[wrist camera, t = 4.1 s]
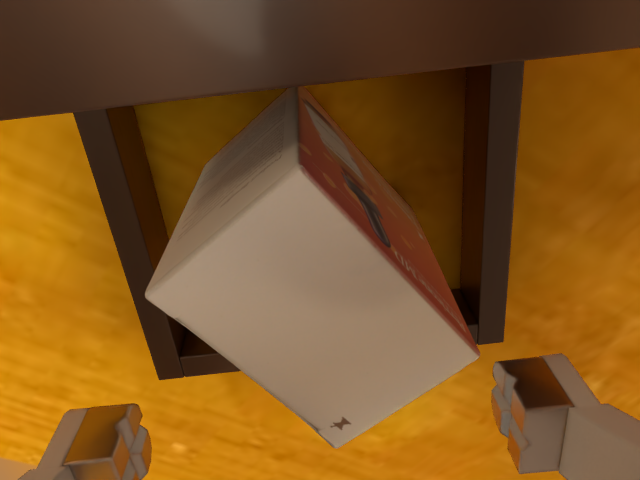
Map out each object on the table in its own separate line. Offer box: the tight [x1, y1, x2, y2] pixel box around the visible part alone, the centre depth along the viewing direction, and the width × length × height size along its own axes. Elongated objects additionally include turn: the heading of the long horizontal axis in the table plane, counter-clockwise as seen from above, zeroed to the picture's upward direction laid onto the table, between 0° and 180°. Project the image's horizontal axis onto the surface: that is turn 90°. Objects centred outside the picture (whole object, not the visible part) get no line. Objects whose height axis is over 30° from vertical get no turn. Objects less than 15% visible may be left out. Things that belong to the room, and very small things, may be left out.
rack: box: [0, 0, 640, 380], centre depth 16 cm, size 16×27×10 cm, turn 6°
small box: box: [145, 86, 480, 448], centre depth 19 cm, size 8×6×10 cm
